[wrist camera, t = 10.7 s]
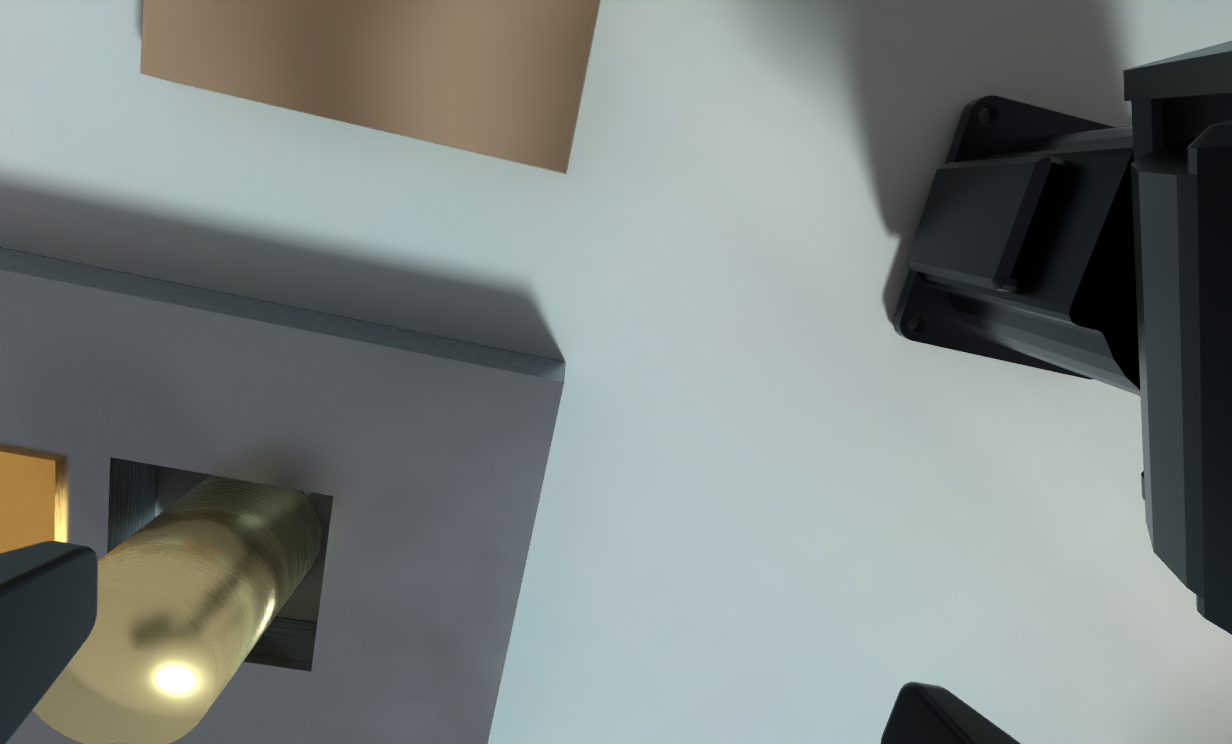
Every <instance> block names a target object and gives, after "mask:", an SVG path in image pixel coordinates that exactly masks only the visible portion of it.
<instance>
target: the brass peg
mask: <svg viewBox="0 0 1232 744" xmlns="http://www.w3.org/2000/svg"><path fill="white" fill-rule="evenodd" d="M321 542H322V530H321V524H320V520H319V517H318V514H317V512H316V510H315V508H314V506H313V505H312V503H311V502H310V500H309V499H308V498H307V496H306V495H305V494H304V493H303V492H302V491H301V490H296V489H290V488H285V487H279V486H273V485H267V484H262V483H256V482H250V481H244V480H239V479H233V478H227V477H221V476H216V475H212V476H210V477H208V478H206V479H205V480H203V481H202V482H201V483H200V484H198V485H197V486H196V487H194V488H193V489H192V490H190V491H189V492H188V493H186V494H185V495H184V496H183V497H181V498H180V499H179V500H177V501H176V502H175V503H173V504H172V505H171V506H169V507H168V508H167V509H165V510H164V511H163V512H162V513H160V514H159V515H158V516H156V517H155V518H154V519H152V520H151V521H150V522H148V523H147V524H146V525H145V526H143V527H142V528H141V529H139V530H138V531H137V532H135V533H134V534H133V535H131V536H130V537H129V538H128V539H126V540H125V541H124V542H122V543H121V544H120V545H118V546H117V547H116V548H114V549H113V550H112V551H111V552H109V553H108V554H107V555H105V556H104V557H103V558H101V559H100V560H99V561H98V598H97V617H96V621H95V625H94V627H93V629H92V631H91V633H90V635H89V637H88V638H87V640H86V641H85V643H84V644H83V645H82V647H81V648H80V649H79V650H78V652H77V653H76V654H75V656H74V657H73V658H72V660H71V661H70V662H69V663H68V665H67V666H66V667H65V669H64V670H63V671H62V673H61V674H60V675H59V676H58V678H57V679H56V680H55V682H54V683H53V684H52V686H51V687H50V688H49V689H48V691H47V692H46V693H45V695H44V696H43V697H42V699H41V700H40V701H39V702H38V704H37V705H36V706H35V708H34V709H33V711H34V712H35V713H36V714H37V715H38V716H39V717H40V718H41V719H42V720H43V721H44V722H45V723H47V724H48V725H49V726H50V727H52V728H53V729H55V730H56V731H58V732H60V733H61V734H63V735H65V736H67V737H69V738H71V739H73V740H75V741H78V742H80V743H83V744H169V743H172V742H174V741H176V740H178V739H180V738H181V737H183V736H184V735H186V734H187V733H188V732H190V731H191V730H192V729H193V728H194V727H195V726H196V725H197V724H198V723H199V722H200V720H201V719H202V718H203V717H204V715H205V714H206V712H207V711H208V710H209V708H210V707H211V705H212V704H213V703H214V701H215V700H216V699H217V697H218V696H219V694H220V693H221V692H222V690H223V689H224V687H225V686H226V685H227V683H228V682H229V680H230V679H231V678H232V676H233V675H234V674H235V672H236V671H237V669H238V668H239V667H240V665H241V664H242V662H243V661H244V660H245V658H246V657H247V655H248V654H249V653H250V651H251V650H252V649H253V647H254V646H255V644H256V643H257V642H258V640H259V639H260V637H261V636H262V635H263V633H264V632H265V630H266V629H267V628H268V626H269V625H270V624H271V622H272V621H273V619H274V618H275V617H276V615H277V614H278V612H279V611H280V610H281V608H282V607H283V605H284V604H285V603H286V601H287V600H288V599H289V597H290V596H291V594H292V593H293V592H294V590H295V589H296V587H297V586H298V585H299V583H300V582H301V580H302V579H303V578H304V576H305V575H306V574H307V572H308V571H309V569H310V568H311V567H312V565H313V564H314V562H315V560H316V558H317V557H318V554H319V551H320V547H321Z"/></svg>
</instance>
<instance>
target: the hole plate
mask: <svg viewBox="0 0 1232 744" xmlns="http://www.w3.org/2000/svg"><path fill="white" fill-rule="evenodd" d="M565 364H566V362H561V361H556V360H551V359H547V358H542V357H537V356H532V355H527V354H522V353H517V352H512V351H507V350H502V349H497V348H492V347H487V346H482V345H478V344H473V343H468V342H463V341H458V340H453V339H448V338H443V337H438V336H433V335H428V334H423V333H418V332H413V331H409V330H404V329H399V328H394V327H389V326H384V325H379V324H374V323H369V322H364V321H359V320H354V319H349V318H344V317H340V316H335V315H330V314H325V313H320V312H315V311H310V310H305V309H300V308H295V307H290V306H285V305H280V304H275V303H271V302H266V301H261V300H256V299H251V298H246V297H241V296H236V295H231V294H226V293H221V292H216V291H211V290H206V289H202V288H197V287H192V286H187V285H182V284H177V283H172V282H167V281H162V280H157V279H152V278H147V277H142V276H137V275H133V274H128V273H123V272H118V271H113V270H108V269H103V268H98V267H93V266H88V265H83V264H78V263H73V262H68V261H64V260H59V259H54V258H49V257H44V256H39V255H34V254H29V253H24V252H19V251H14V250H9V249H4V248H0V553H4V552H8V551H11V550H15V549H19V548H22V547H26V546H30V545H33V544H37V543H41V542H45V541H59V542H65V543H71V544H77V545H83V546H88V547H90V548H91V549H93V550H94V551H95V553H96V555H97V558H98V561H99V560H100V559H101V558H103V557H104V556H105V555H107V554H108V553H109V552H111V551H112V550H113V549H114V548H116V547H117V546H118V545H120V544H121V543H122V542H124V541H125V540H126V539H128V538H129V537H130V536H131V535H133V534H134V533H135V532H137V531H138V530H139V529H141V528H142V527H143V526H145V525H146V524H147V523H148V522H150V521H151V520H152V519H154V518H155V500H156V481H157V465H158V466H164V467H170V468H175V469H181V470H187V471H193V472H198V473H204V474H210V475H216V476H221V477H227V478H233V479H239V480H244V481H250V482H256V483H262V484H267V485H273V486H279V487H285V488H290V489H296V490H302V491H307V492H313V493H319V494H325V495H330V496H333V503H332V511H331V519H330V527H329V535H328V543H327V550H326V558H325V566H324V574H323V582H322V590H321V598H320V606H319V614H318V622H317V623H311V622H304V621H298V620H291V619H284V618H278V617H275V618H274V619H273V621H272V622H271V624H270V625H269V626H268V628H267V629H266V630H265V632H264V633H263V635H262V636H261V637H260V639H259V640H258V642H257V643H256V644H255V646H254V647H253V649H252V650H251V651H250V653H249V654H248V655H247V657H246V658H245V660H244V661H243V662H242V664H241V665H240V667H239V668H238V669H237V671H236V672H235V674H234V675H233V676H232V678H231V679H230V680H229V682H228V683H227V685H226V686H225V687H224V689H223V690H222V692H221V693H220V694H219V696H218V697H217V699H216V700H215V701H214V703H213V704H212V705H211V707H210V708H209V710H208V711H207V712H206V714H205V715H204V717H203V718H202V719H201V720H200V722H199V723H198V724H197V725H196V726H195V727H194V728H193V729H192V730H191V731H190V732H188V733H187V734H186V735H184V736H183V737H181V738H180V739H178V740H176V741H174V742H172V743H169V744H487V743H488V738H489V734H490V729H491V724H492V719H493V715H494V710H495V705H496V701H497V696H498V691H499V686H500V682H501V677H502V672H503V668H504V663H505V658H506V653H507V649H508V644H509V639H510V634H511V630H512V625H513V620H514V616H515V611H516V606H517V601H518V597H519V592H520V587H521V583H522V578H523V573H524V568H525V564H526V559H527V554H528V550H529V545H530V540H531V535H532V531H533V526H534V521H535V517H536V512H537V507H538V502H539V498H540V493H541V488H542V484H543V479H544V474H545V469H546V465H547V460H548V455H549V451H550V446H551V441H552V436H553V432H554V427H555V422H556V417H557V413H558V408H559V403H560V399H561V394H562V389H563V384H564V376H565ZM7 744H83V743H80V742H78V741H75V740H73V739H71V738H69V737H67V736H65V735H63V734H61V733H60V732H58V731H56V730H55V729H53V728H52V727H50V726H49V725H48V724H47V723H45V722H44V721H43V720H42V719H41V718H40V717H39V716H38V715H37V714H36V713H35V712H34V711H33V710H32V711H31V713H30V714H29V715H28V717H27V718H26V719H25V721H24V722H23V723H22V724H21V726H20V727H19V728H18V730H17V731H16V732H15V734H14V735H13V736H12V737H11V739H10V740H9V741H8V743H7Z"/></svg>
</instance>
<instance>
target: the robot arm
mask: <svg viewBox="0 0 1232 744" xmlns="http://www.w3.org/2000/svg"><path fill="white" fill-rule="evenodd" d="M1123 76H1124V98H1125V101H1131V104H1132V126H1126V127H1117V128H1115V127H1111V126H1108V125H1104V124H1100V123H1096V122H1093V121H1089V120H1085V119H1081V118H1078V117H1074V116H1070V115H1066V114H1062V113H1059V112H1055V111H1051V110H1047V109H1044V108H1040V107H1036V106H1032V105H1029V104H1025V103H1021V102H1017V101H1014V100H1010V99H1006V98H1002V97H999V96H984V97H980V98H977V99H975V100H972V101H971V102H970V103H969V104H968V105H967V106H966V107H965V109H964V111H963V112H962V115H961V118H960V121H959V124H958V127H957V130H956V133H955V136H954V139H953V142H952V145H951V148H950V151H949V154H948V157H947V160H946V163H945V165H944V166H943V167H941V168H940V169H938V170H937V172H936V174H935V177H934V180H933V183H932V186H931V189H930V192H929V195H928V198H927V201H926V204H925V207H924V210H923V213H922V216H921V219H920V222H919V225H918V228H917V231H916V234H915V237H914V240H913V243H912V247H911V250H910V253H909V256H908V263H909V265H910V270H909V273H908V276H907V279H906V282H905V285H904V288H903V291H902V294H901V297H900V300H899V303H898V306H897V309H896V312H895V315H894V321H893V325H894V329H895V331H896V332H897V333H898V334H899V335H901V336H903V337H905V338H907V339H910V340H912V341H917V342H921V343H926V344H930V345H935V346H939V347H944V348H949V349H953V350H958V351H962V352H967V353H971V354H976V355H981V356H985V357H990V358H994V359H999V360H1003V361H1008V362H1012V363H1017V364H1022V365H1026V366H1031V367H1035V368H1040V369H1044V370H1049V371H1054V372H1058V373H1063V374H1067V375H1072V376H1076V377H1081V378H1086V379H1095V380H1098V381H1101V382H1104V383H1106V384H1109V385H1112V386H1115V387H1117V388H1120V389H1123V390H1126V391H1128V392H1131V393H1134V394H1136V395H1139V396H1141V415H1142V439H1143V462H1144V471H1143V472H1142V473H1141V482H1142V497H1143V499H1144V500H1145V508H1146V523H1147V527H1148V531H1149V535H1150V539H1151V543H1152V547H1153V551H1154V553H1155V554H1156V555H1157V556H1158V557H1159V558H1160V559H1161V560H1162V561H1163V562H1164V563H1165V564H1166V566H1167V567H1168V568H1169V569H1170V570H1171V571H1172V572H1173V573H1174V574H1175V575H1176V576H1177V577H1178V579H1179V580H1180V581H1181V582H1182V583H1183V584H1184V585H1185V586H1186V587H1187V588H1188V589H1190V590H1191V591H1192V592H1194V593H1195V594H1196V605H1197V611H1198V612H1199V613H1200V614H1201V615H1202V616H1203V617H1204V618H1205V619H1207V620H1209V621H1210V622H1212V623H1213V624H1215V625H1217V626H1218V627H1220V628H1222V629H1223V630H1225V631H1227V632H1228V633H1230V634H1232V41H1229V42H1226V43H1222V44H1218V45H1215V46H1211V47H1207V48H1203V49H1200V50H1196V51H1192V52H1189V53H1185V54H1181V55H1178V56H1174V57H1170V58H1167V59H1163V60H1159V61H1156V62H1152V63H1148V64H1145V65H1141V66H1137V67H1133V68H1130V69H1126V70H1123ZM983 108H985V109H986V110H987V111H988V113H989V121H988V122H987V124H986V125H985V126H983V125H982V124H981V123H980V121H979V114H980V112H981V110H982V109H983ZM915 314H918V316H919V323H918V325H917V326H916V327H915V328H913V329H910V328H909V326H908V324H909V320H910V318H911V317H912V316H914V315H915ZM97 598H98V558H97V555H96V553H95V551H94V550H93V549H91V548H90V547H88V546H83V545H77V544H71V543H65V542H59V541H45V542H41V543H37V544H33V545H30V546H26V547H22V548H19V549H15V550H11V551H8V552H4V553H0V744H7V743H8V741H9V740H10V739H11V737H12V736H13V735H14V734H15V732H16V731H17V730H18V728H19V727H20V726H21V724H22V723H23V722H24V721H25V719H26V718H27V717H28V715H29V714H30V713H31V711H32V710H33V709H34V708H35V706H36V705H37V704H38V702H39V701H40V700H41V699H42V697H43V696H44V695H45V693H46V692H47V691H48V689H49V688H50V687H51V686H52V684H53V683H54V682H55V680H56V679H57V678H58V676H59V675H60V674H61V673H62V671H63V670H64V669H65V667H66V666H67V665H68V663H69V662H70V661H71V660H72V658H73V657H74V656H75V654H76V653H77V652H78V650H79V649H80V648H81V647H82V645H83V644H84V643H85V641H86V640H87V638H88V637H89V635H90V633H91V631H92V629H93V627H94V625H95V621H96V617H97ZM881 744H1021V743H1019V742H1018V741H1016V740H1015V739H1014V738H1012V737H1011V736H1010V735H1008V734H1007V733H1006V732H1004V731H1003V730H1001V729H1000V728H999V727H997V726H996V725H995V724H993V723H992V722H990V721H989V720H988V719H986V718H985V717H984V716H982V715H981V714H980V713H978V712H977V711H975V710H974V709H973V708H971V707H970V706H969V705H967V704H966V703H964V702H963V701H962V700H960V699H959V698H958V697H956V696H955V695H954V694H952V693H951V692H949V691H948V690H946V689H945V688H943V687H940V686H936V685H930V684H924V683H917V682H909V683H906V684H905V685H904V686H903V687H902V688H901V690H900V692H899V694H898V697H897V699H896V702H895V704H894V707H893V709H892V712H891V714H890V717H889V720H888V722H887V725H886V727H885V730H884V732H883V735H882V739H881Z"/></svg>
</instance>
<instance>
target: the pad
mask: <svg viewBox="0 0 1232 744" xmlns="http://www.w3.org/2000/svg"><path fill="white" fill-rule="evenodd" d="M599 5H600V0H143V19H142V44H141V70H140V73H141V74H145V75H149V76H152V77H156V78H160V79H164V80H167V81H172V82H176V83H180V84H184V85H189V86H193V87H197V88H202V89H206V90H210V91H214V92H219V93H223V94H227V95H231V96H236V97H240V98H244V99H249V100H253V101H257V102H261V103H266V104H270V105H274V106H278V107H283V108H287V109H291V110H296V111H300V112H304V113H308V114H313V115H317V116H321V117H325V118H330V119H334V120H338V121H342V122H347V123H351V124H355V125H360V126H364V127H368V128H372V129H377V130H381V131H385V132H389V133H394V134H398V135H402V136H407V137H411V138H415V139H419V140H424V141H428V142H432V143H436V144H441V145H445V146H449V147H454V148H458V149H462V150H466V151H471V152H475V153H479V154H483V155H488V156H492V157H496V158H501V159H505V160H509V161H513V162H518V163H522V164H526V165H530V166H535V167H539V168H543V169H547V170H552V171H556V172H560V173H565V174H566V173H567V168H568V163H569V158H570V153H571V148H572V143H573V137H574V132H575V127H576V122H577V117H578V112H579V107H580V102H581V97H582V92H583V87H584V81H585V76H586V71H587V66H588V61H589V56H590V51H591V46H592V41H593V36H594V31H595V26H596V20H597V15H598V10H599Z"/></svg>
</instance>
